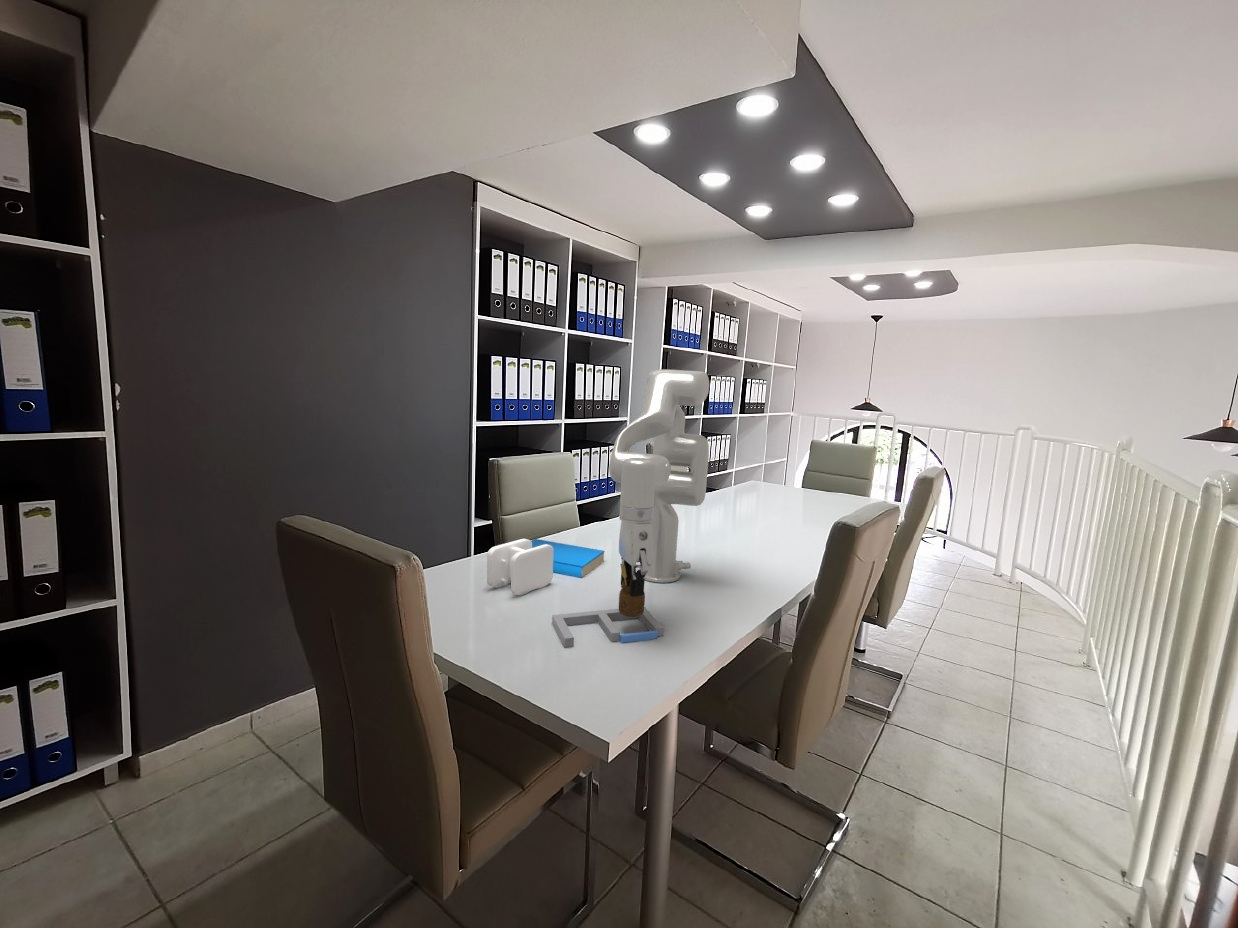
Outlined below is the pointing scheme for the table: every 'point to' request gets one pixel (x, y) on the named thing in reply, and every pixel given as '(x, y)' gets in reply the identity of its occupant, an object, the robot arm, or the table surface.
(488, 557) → the cable organizer
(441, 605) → the table surface
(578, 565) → the book
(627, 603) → the utensil holder
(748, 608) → the table surface
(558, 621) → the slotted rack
